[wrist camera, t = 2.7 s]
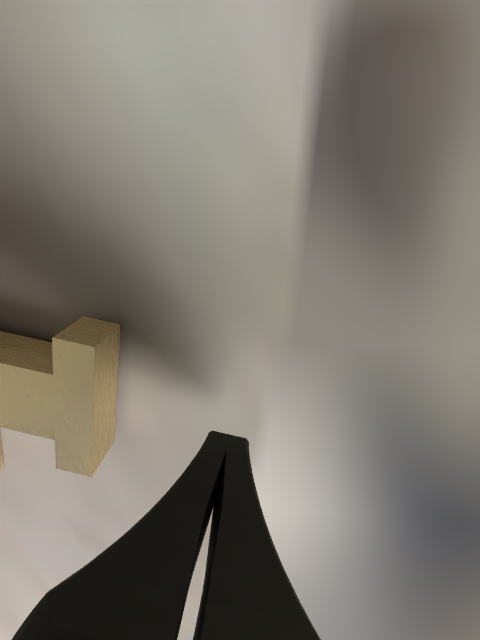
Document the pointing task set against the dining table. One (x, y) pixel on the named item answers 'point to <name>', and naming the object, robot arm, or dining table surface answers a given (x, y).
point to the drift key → (63, 390)
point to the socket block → (1, 457)
